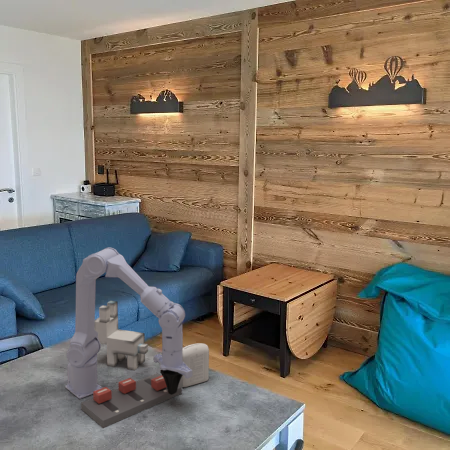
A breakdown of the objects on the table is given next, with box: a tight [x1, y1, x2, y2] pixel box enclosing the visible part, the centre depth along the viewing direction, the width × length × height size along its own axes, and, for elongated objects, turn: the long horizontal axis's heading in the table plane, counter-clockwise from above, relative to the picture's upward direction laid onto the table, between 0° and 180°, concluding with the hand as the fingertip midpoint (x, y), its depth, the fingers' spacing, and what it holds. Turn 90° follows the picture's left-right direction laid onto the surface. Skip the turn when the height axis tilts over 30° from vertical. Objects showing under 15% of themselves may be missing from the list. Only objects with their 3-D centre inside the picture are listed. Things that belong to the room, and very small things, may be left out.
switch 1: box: [92, 386, 113, 404], centre depth 135 cm, size 3×4×2 cm
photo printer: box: [179, 342, 210, 388], centre depth 150 cm, size 10×4×12 cm, turn 123°
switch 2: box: [117, 377, 136, 394], centre depth 141 cm, size 3×4×2 cm
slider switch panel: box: [80, 372, 183, 429], centre depth 139 cm, size 12×26×2 cm, turn 134°
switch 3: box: [151, 374, 167, 391], centre depth 143 cm, size 3×4×2 cm
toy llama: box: [94, 300, 149, 372], centre depth 161 cm, size 8×18×20 cm, turn 72°
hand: (172, 392), depth 138 cm, fingers closed
